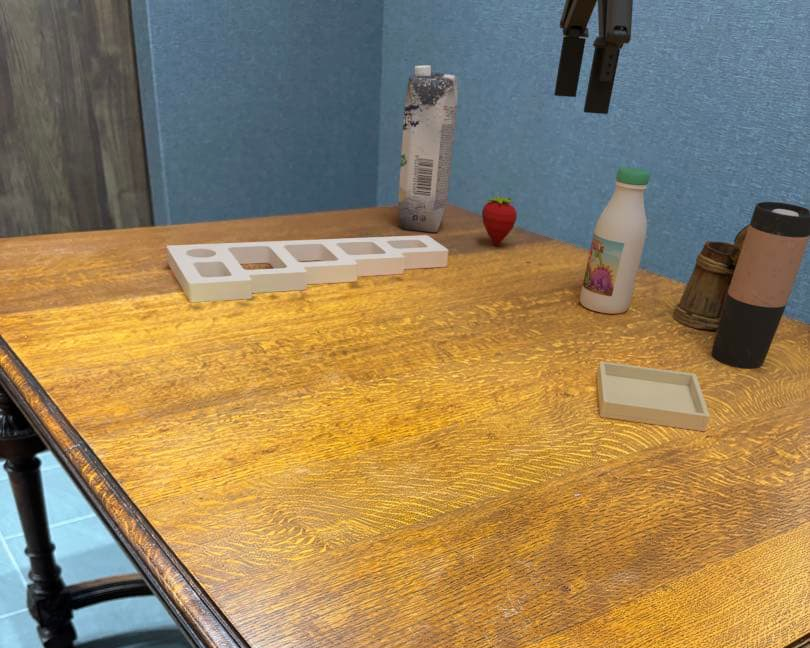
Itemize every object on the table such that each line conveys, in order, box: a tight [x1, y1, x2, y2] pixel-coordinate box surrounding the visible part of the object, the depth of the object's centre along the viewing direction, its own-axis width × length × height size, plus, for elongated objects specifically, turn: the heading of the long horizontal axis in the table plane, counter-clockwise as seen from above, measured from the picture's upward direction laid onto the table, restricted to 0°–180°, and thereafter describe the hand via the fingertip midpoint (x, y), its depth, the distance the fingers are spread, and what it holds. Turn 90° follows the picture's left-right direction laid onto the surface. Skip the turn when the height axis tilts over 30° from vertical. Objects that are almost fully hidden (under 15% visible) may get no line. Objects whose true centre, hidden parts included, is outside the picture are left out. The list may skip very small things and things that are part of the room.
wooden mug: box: [672, 223, 750, 332], centre depth 119 cm, size 9×14×18 cm, turn 12°
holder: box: [166, 234, 450, 303], centre depth 129 cm, size 45×18×3 cm, turn 113°
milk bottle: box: [579, 166, 651, 315], centre depth 122 cm, size 8×8×20 cm
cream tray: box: [596, 360, 711, 432], centre depth 99 cm, size 12×12×2 cm
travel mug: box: [710, 201, 810, 369], centre depth 108 cm, size 8×8×20 cm
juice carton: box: [397, 65, 458, 233], centre depth 150 cm, size 9×10×27 cm
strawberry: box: [481, 187, 518, 246], centre depth 148 cm, size 6×8×10 cm
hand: (579, 104), depth 100 cm, fingers open, 13 cm apart
